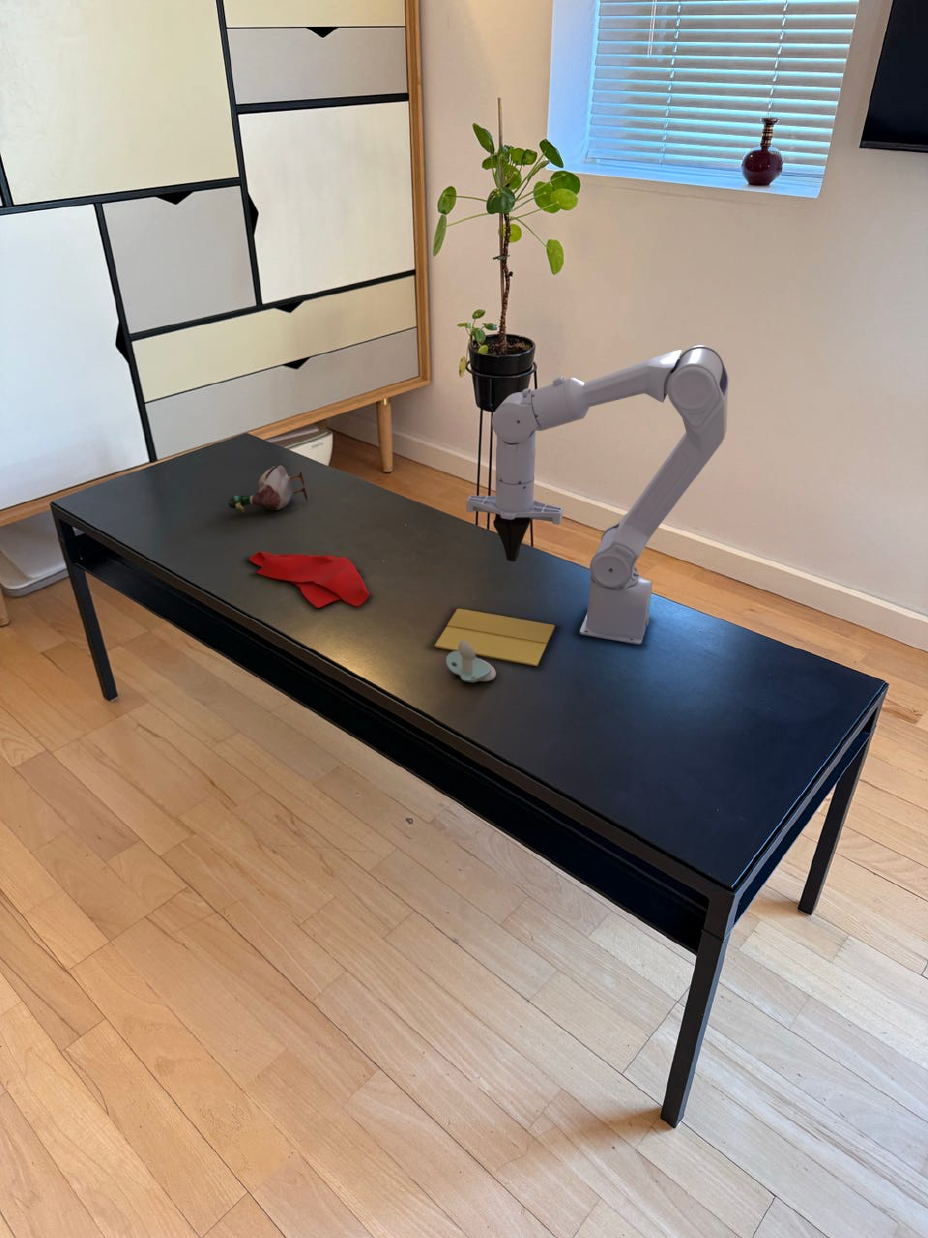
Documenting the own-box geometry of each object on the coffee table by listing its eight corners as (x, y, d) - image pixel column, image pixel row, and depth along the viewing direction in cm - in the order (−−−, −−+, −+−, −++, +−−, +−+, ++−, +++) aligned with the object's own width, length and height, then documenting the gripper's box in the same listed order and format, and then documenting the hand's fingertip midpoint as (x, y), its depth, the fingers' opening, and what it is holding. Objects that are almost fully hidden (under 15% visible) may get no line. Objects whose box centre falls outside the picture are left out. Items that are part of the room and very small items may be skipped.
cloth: (396, 588, 148) (395, 576, 147) (330, 619, 140) (329, 607, 139) (304, 538, 164) (302, 527, 163) (240, 563, 156) (238, 552, 155)
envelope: (554, 627, 138) (555, 624, 138) (537, 666, 129) (537, 663, 129) (458, 610, 143) (457, 607, 142) (434, 647, 134) (434, 644, 133)
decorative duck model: (225, 495, 165) (218, 462, 177) (235, 530, 169) (227, 496, 181) (304, 478, 168) (292, 447, 180) (312, 513, 172) (300, 480, 184)
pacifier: (472, 656, 132) (440, 670, 129) (473, 620, 129) (441, 633, 125) (505, 678, 127) (473, 694, 124) (507, 642, 124) (474, 656, 121)
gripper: (459, 480, 129) (460, 562, 136) (556, 493, 125) (551, 577, 133) (474, 463, 135) (474, 542, 142) (567, 474, 131) (562, 556, 138)
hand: (512, 558), depth 138 cm, fingers closed
